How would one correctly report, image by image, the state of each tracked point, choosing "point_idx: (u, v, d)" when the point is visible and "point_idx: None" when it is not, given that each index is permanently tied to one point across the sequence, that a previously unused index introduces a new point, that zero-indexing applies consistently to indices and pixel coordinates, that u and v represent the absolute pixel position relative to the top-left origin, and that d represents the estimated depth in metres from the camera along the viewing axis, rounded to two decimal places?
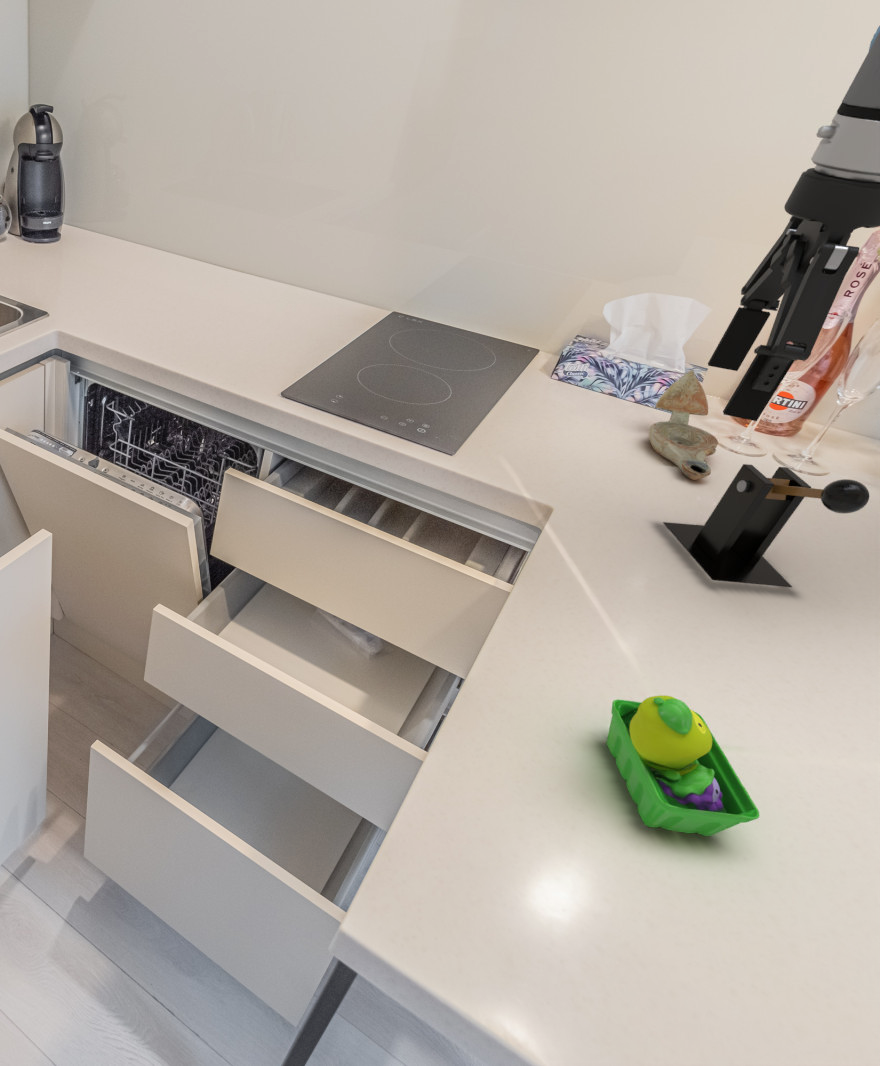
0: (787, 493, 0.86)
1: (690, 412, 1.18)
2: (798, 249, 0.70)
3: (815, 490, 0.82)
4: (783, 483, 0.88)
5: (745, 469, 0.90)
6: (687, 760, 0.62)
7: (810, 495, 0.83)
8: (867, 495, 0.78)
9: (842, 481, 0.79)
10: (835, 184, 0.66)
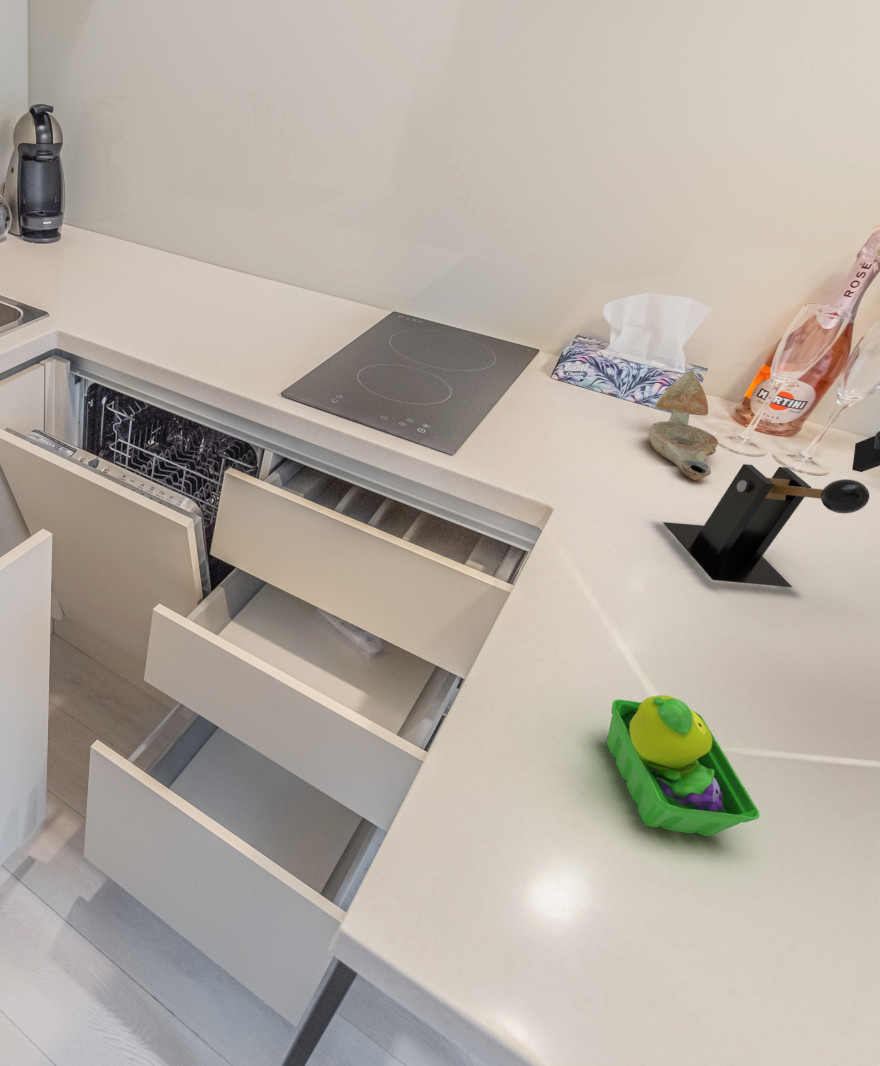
0: (787, 493, 0.86)
1: (690, 412, 1.18)
2: None
3: (815, 490, 0.82)
4: (783, 483, 0.88)
5: (745, 469, 0.90)
6: (687, 760, 0.62)
7: (810, 495, 0.83)
8: (867, 495, 0.78)
9: (842, 481, 0.79)
10: None
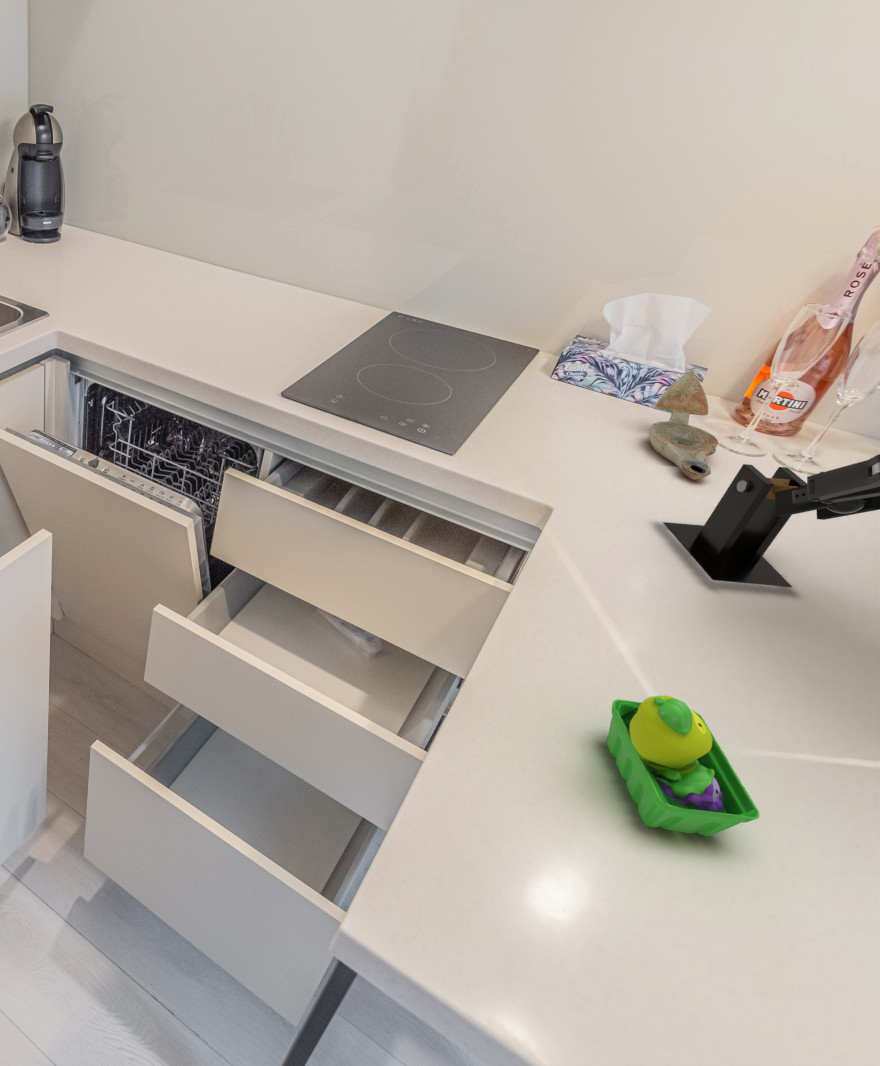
0: None
1: (690, 412, 1.18)
2: None
3: None
4: (783, 483, 0.88)
5: (745, 469, 0.90)
6: (687, 760, 0.62)
7: None
8: None
9: None
10: None
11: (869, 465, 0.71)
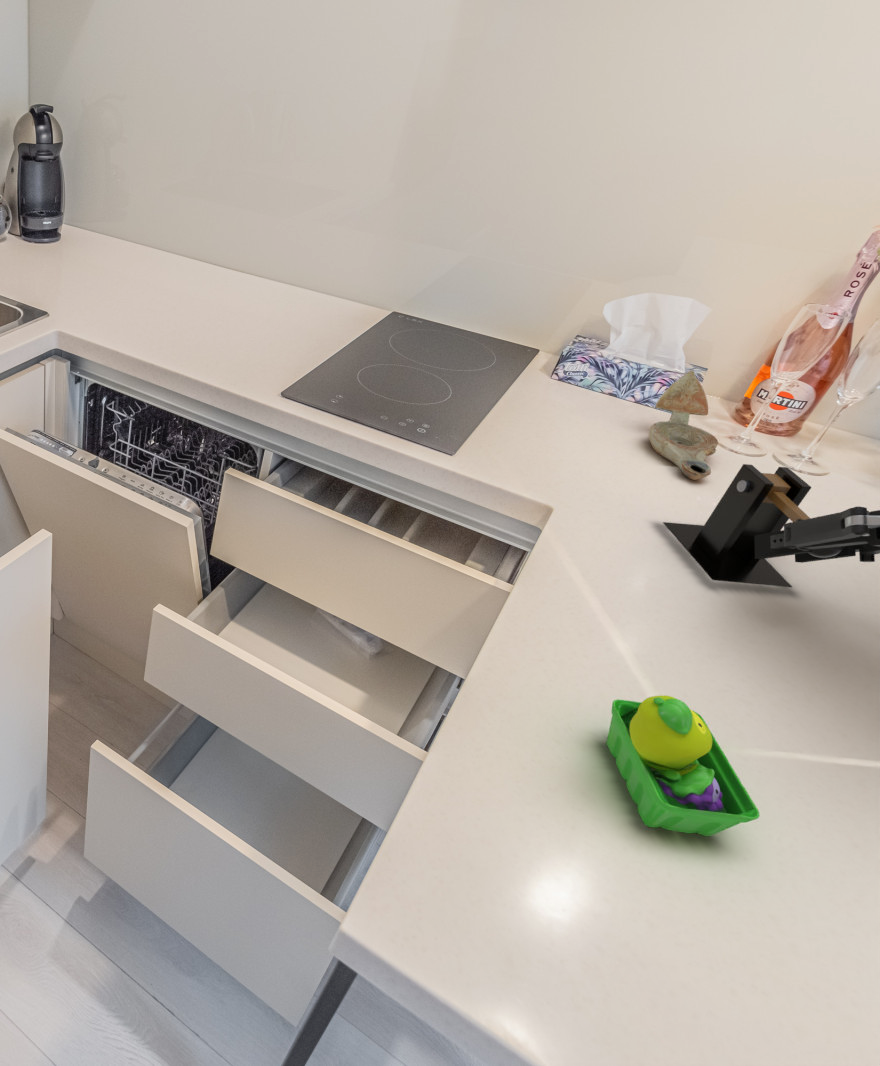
0: (779, 507, 0.87)
1: (690, 412, 1.18)
2: None
3: None
4: (783, 490, 0.88)
5: (745, 469, 0.90)
6: (687, 760, 0.62)
7: None
8: (842, 548, 0.80)
9: None
10: None
11: (842, 517, 0.73)
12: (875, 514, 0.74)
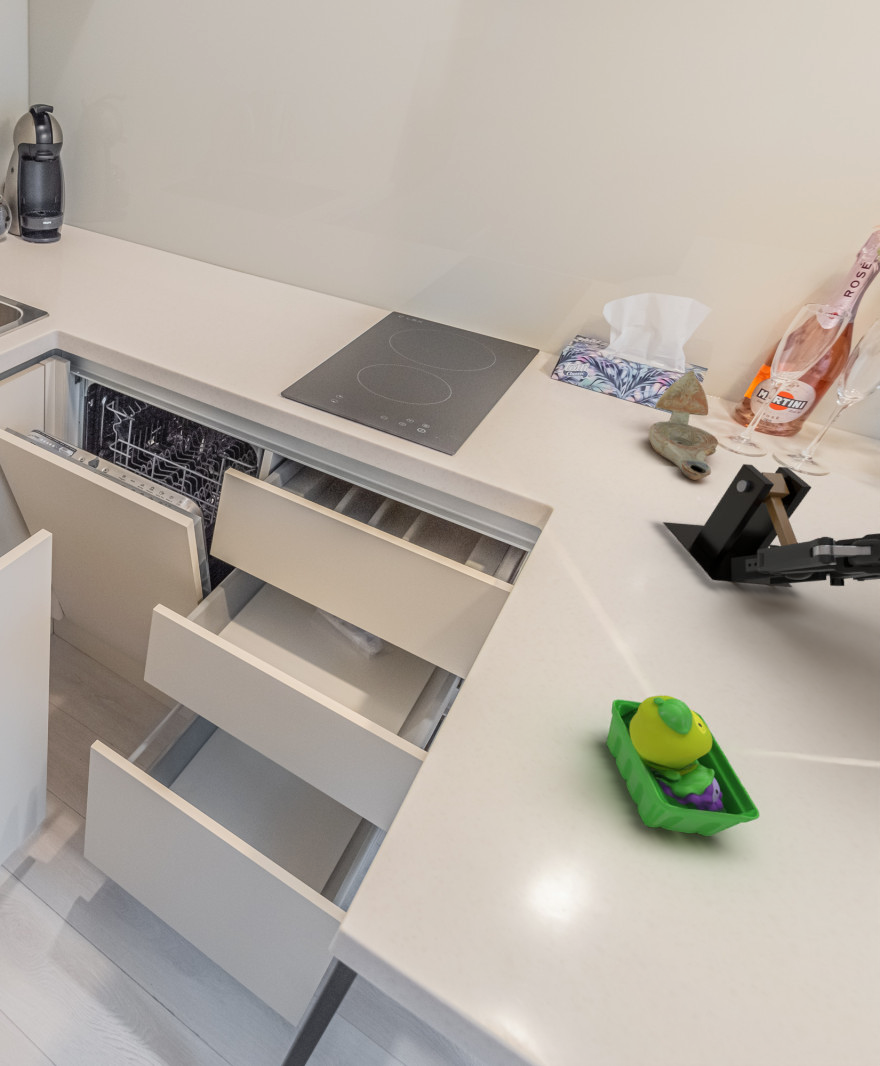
0: (770, 515, 0.88)
1: (690, 412, 1.18)
2: None
3: (784, 538, 0.86)
4: (780, 495, 0.88)
5: (745, 469, 0.90)
6: (687, 760, 0.62)
7: (779, 537, 0.87)
8: (811, 575, 0.84)
9: None
10: None
11: (810, 546, 0.76)
12: (842, 543, 0.77)
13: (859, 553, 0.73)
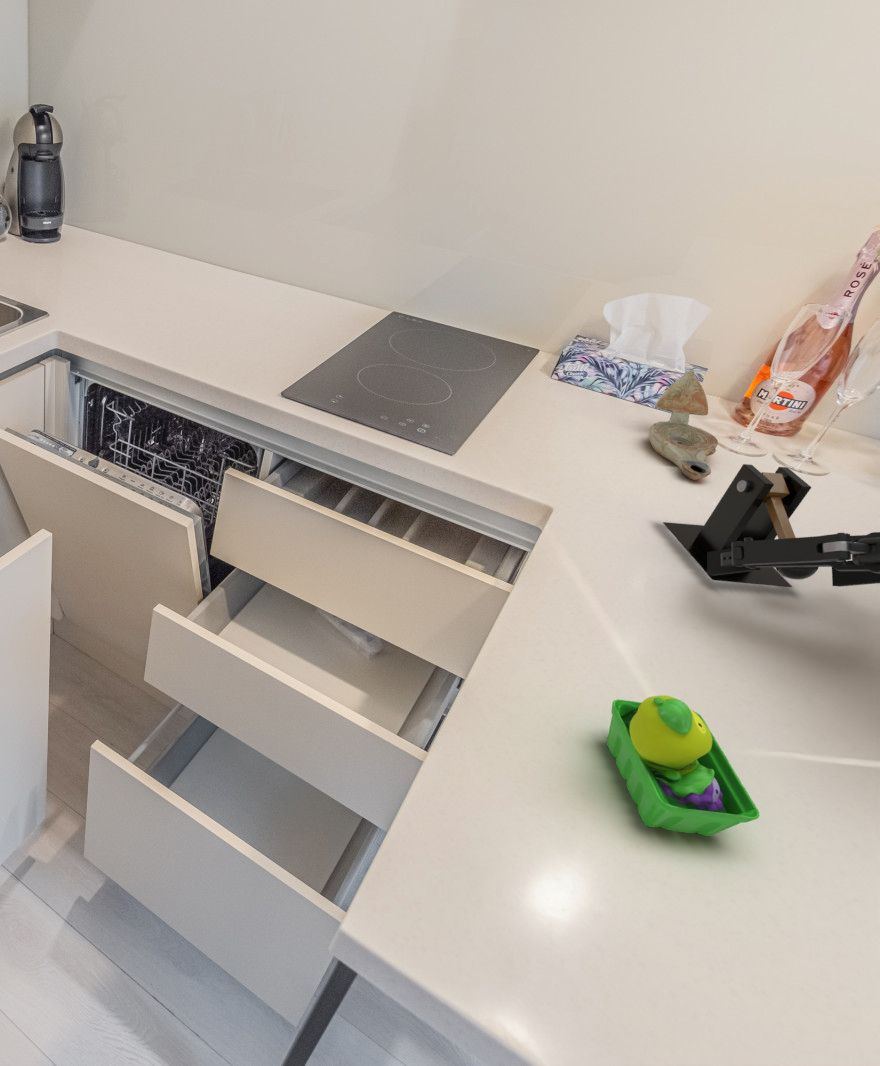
0: (770, 515, 0.88)
1: (690, 412, 1.18)
2: None
3: (784, 538, 0.86)
4: (780, 495, 0.88)
5: (745, 469, 0.90)
6: (687, 760, 0.62)
7: (779, 537, 0.87)
8: (811, 575, 0.84)
9: None
10: None
11: (818, 541, 0.74)
12: None
13: (870, 551, 0.72)
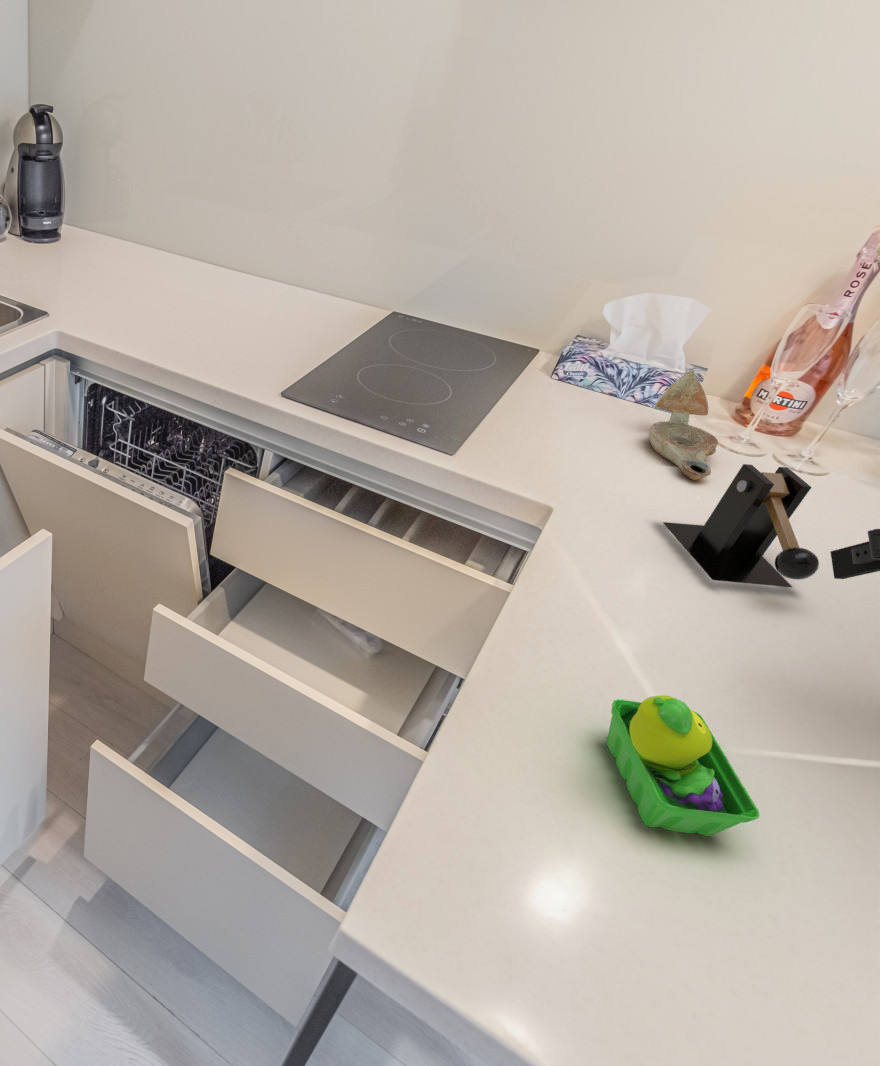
0: (770, 515, 0.88)
1: (690, 412, 1.18)
2: None
3: (784, 538, 0.86)
4: (780, 495, 0.88)
5: (745, 469, 0.90)
6: (687, 760, 0.62)
7: (779, 537, 0.87)
8: (811, 575, 0.84)
9: (801, 559, 0.83)
10: None
11: None
12: None
13: None
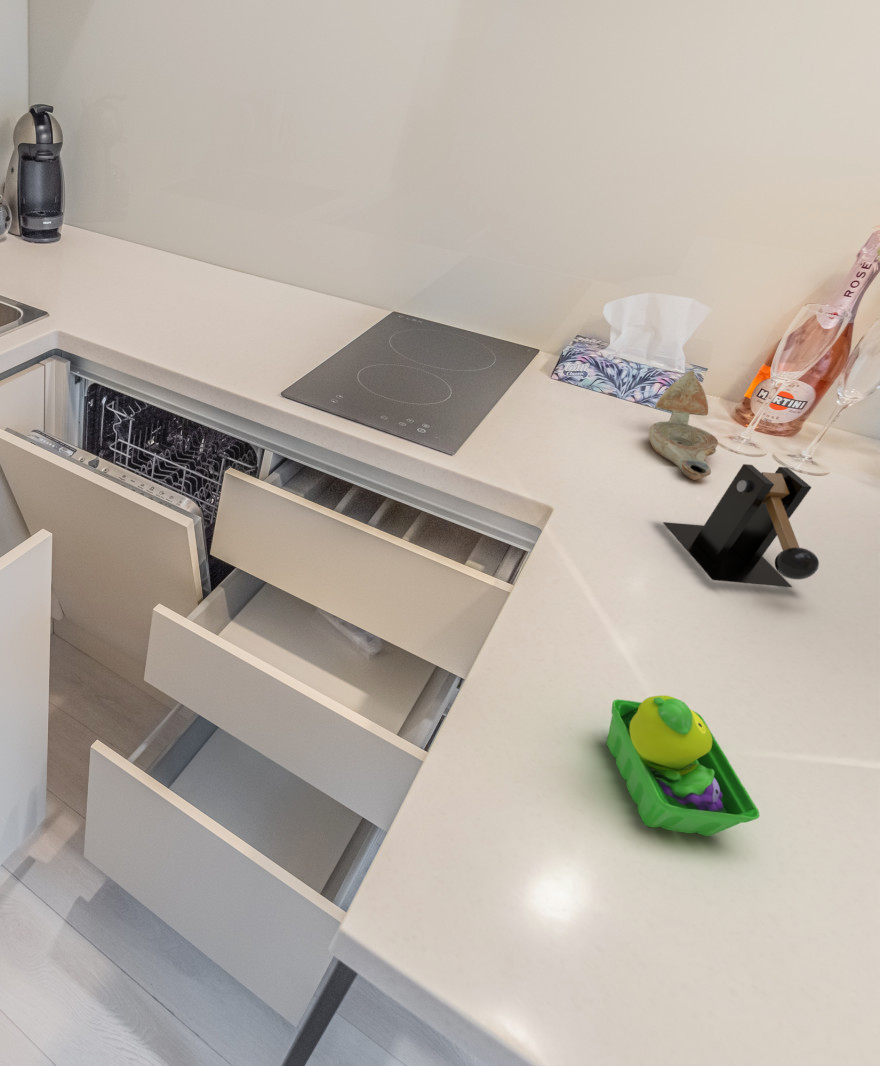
0: (770, 515, 0.88)
1: (690, 412, 1.18)
2: None
3: (784, 538, 0.86)
4: (780, 495, 0.88)
5: (745, 469, 0.90)
6: (687, 760, 0.62)
7: (779, 537, 0.87)
8: (811, 575, 0.84)
9: (801, 559, 0.83)
10: None
11: None
12: None
13: None
